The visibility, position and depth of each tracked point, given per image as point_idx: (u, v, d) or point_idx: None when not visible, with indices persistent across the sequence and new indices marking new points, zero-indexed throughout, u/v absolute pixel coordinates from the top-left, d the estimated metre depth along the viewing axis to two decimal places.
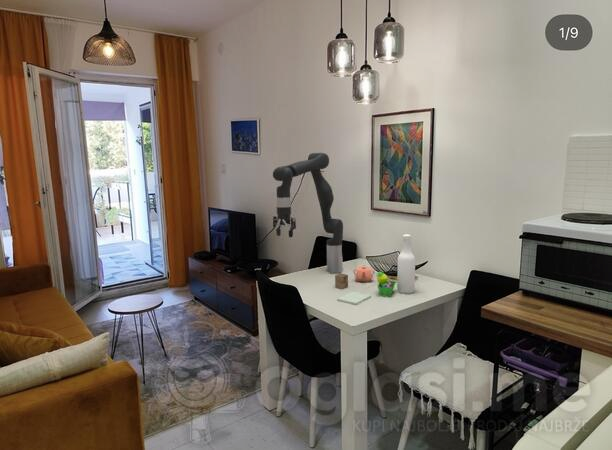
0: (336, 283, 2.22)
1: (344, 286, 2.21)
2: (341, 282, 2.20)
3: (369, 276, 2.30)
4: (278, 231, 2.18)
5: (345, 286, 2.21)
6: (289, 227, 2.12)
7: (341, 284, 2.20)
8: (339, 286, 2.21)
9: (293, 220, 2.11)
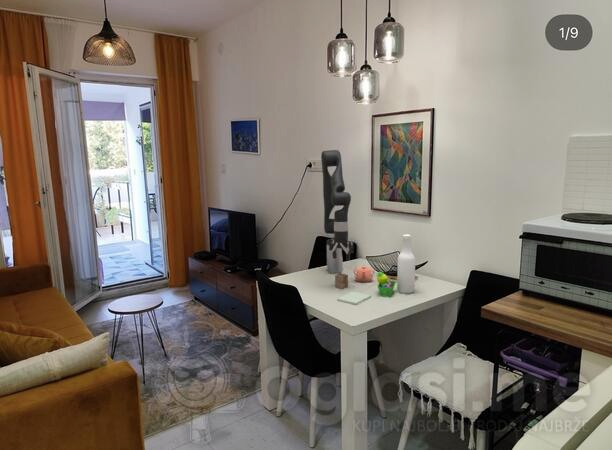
0: (336, 283, 2.22)
1: (344, 286, 2.21)
2: (341, 282, 2.20)
3: (369, 276, 2.30)
4: (334, 254, 2.23)
5: (345, 286, 2.21)
6: (347, 251, 2.16)
7: (341, 284, 2.20)
8: (339, 286, 2.21)
9: (351, 244, 2.15)
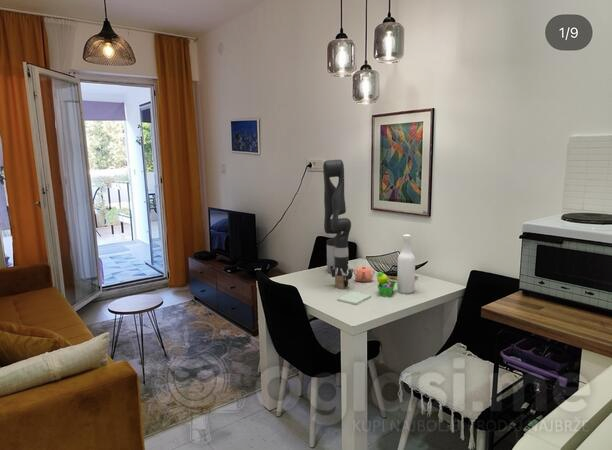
0: (336, 283, 2.22)
1: None
2: (341, 282, 2.20)
3: (369, 276, 2.30)
4: None
5: None
6: (345, 277, 2.19)
7: (341, 284, 2.20)
8: (339, 286, 2.21)
9: (351, 272, 2.17)
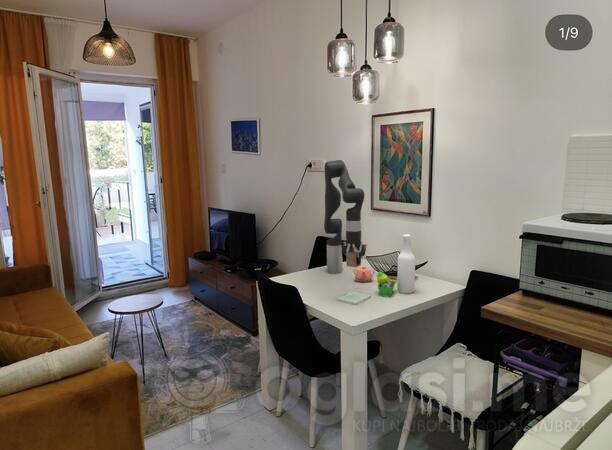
0: (348, 261, 2.00)
1: (356, 264, 1.99)
2: (353, 259, 1.98)
3: (369, 276, 2.30)
4: None
5: None
6: (358, 254, 1.97)
7: (353, 262, 1.98)
8: (351, 264, 1.99)
9: (364, 247, 1.96)
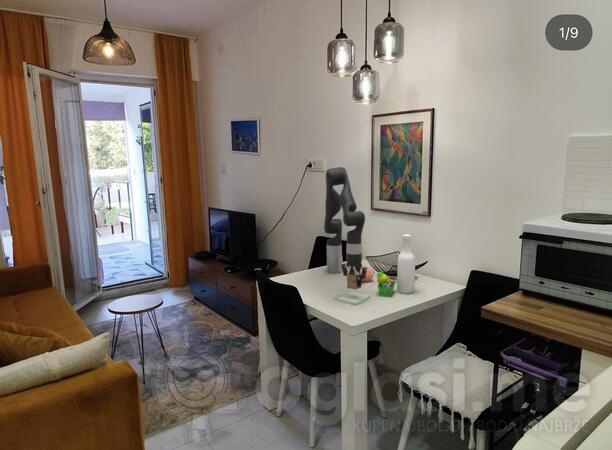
0: (348, 283, 2.02)
1: None
2: (354, 282, 1.99)
3: (369, 276, 2.30)
4: None
5: None
6: (358, 276, 1.99)
7: (354, 284, 2.00)
8: (352, 286, 2.00)
9: (365, 270, 1.97)
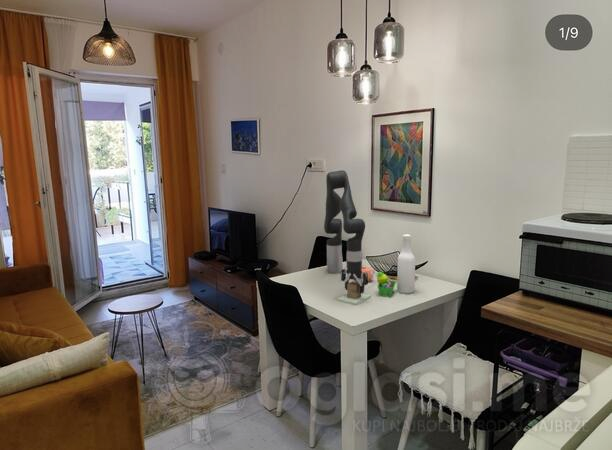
0: (348, 292, 2.02)
1: (357, 296, 2.01)
2: (354, 291, 2.00)
3: (369, 276, 2.30)
4: None
5: (358, 296, 2.02)
6: (361, 283, 1.99)
7: (354, 294, 2.00)
8: (352, 296, 2.01)
9: (365, 275, 1.97)
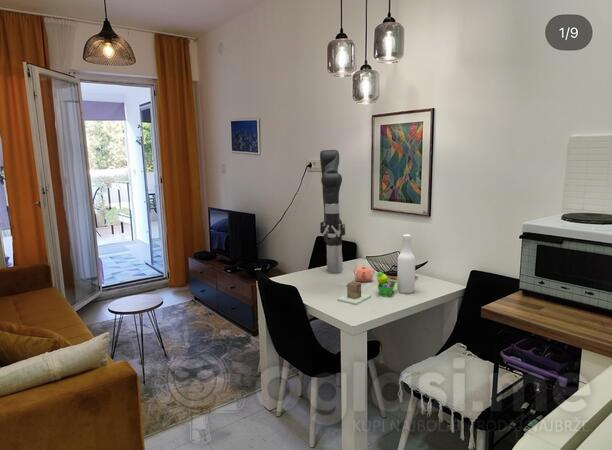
0: (348, 292, 2.02)
1: (357, 296, 2.01)
2: (354, 291, 2.00)
3: (369, 276, 2.30)
4: (326, 237, 2.17)
5: (358, 296, 2.02)
6: (338, 233, 2.11)
7: (354, 294, 2.00)
8: (352, 296, 2.01)
9: (343, 226, 2.09)
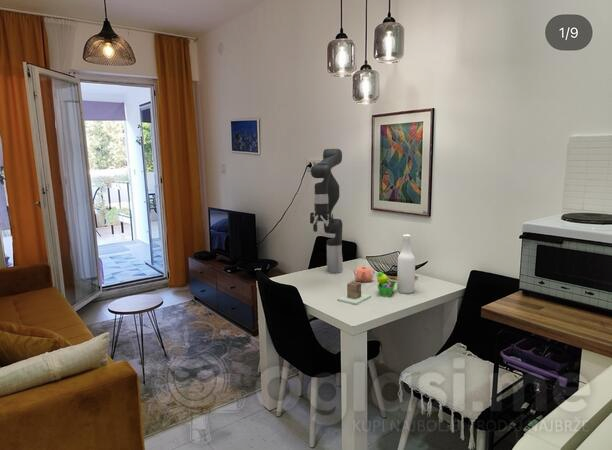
0: (348, 292, 2.02)
1: (357, 296, 2.01)
2: (354, 291, 2.00)
3: (369, 276, 2.30)
4: (315, 227, 2.24)
5: (358, 296, 2.02)
6: (327, 223, 2.17)
7: (354, 294, 2.00)
8: (352, 296, 2.01)
9: (331, 216, 2.16)
